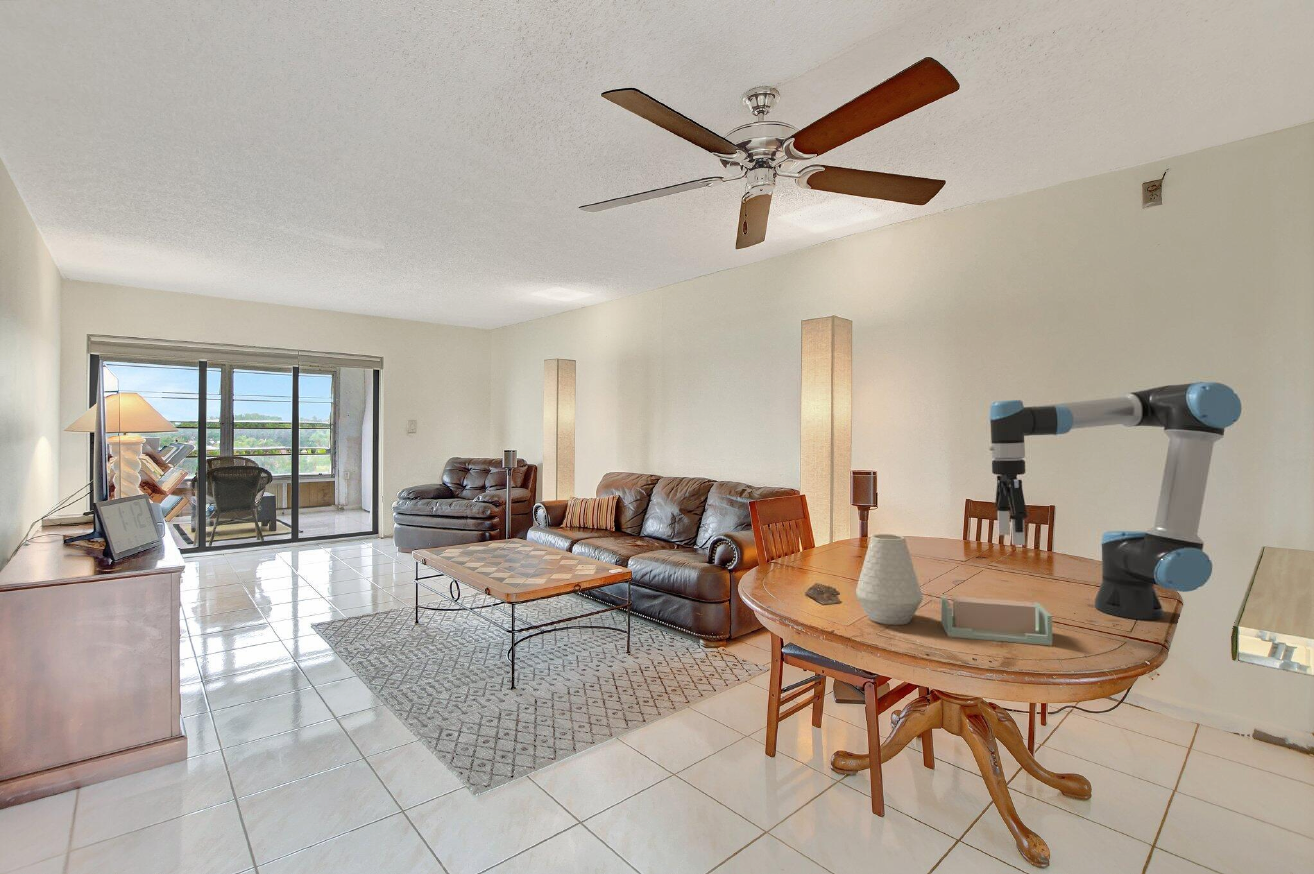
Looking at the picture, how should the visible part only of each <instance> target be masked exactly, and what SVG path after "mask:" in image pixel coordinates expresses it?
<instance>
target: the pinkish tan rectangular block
mask: <svg viewBox="0 0 1314 874" xmlns="http://www.w3.org/2000/svg"><path fill="white" fill-rule="evenodd" d="M952 615H953V624H954V626H955V627H958V628H970V629H972V630H984V631H996V632H1007V633H1019V634H1025V633H1030V634H1036V616H1035V606H1034V603H1032V602H1031V601H1020V600H1019V601H1018V600H1006V599H995V598H978V597H964V596H952Z"/></svg>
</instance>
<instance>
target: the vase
mask: <svg viewBox="0 0 1314 874" xmlns="http://www.w3.org/2000/svg"><path fill="white" fill-rule="evenodd" d="M916 574H917V573H916V570H915V567H914V563H913V560H912V557H911V555H910V550H909V547H908V544H907V541H906V537H905V536H902V535H899V534H891V533H878V534H877V533H876V534H872V535H871V536H870V540H869V544H868V546H867V550H866V553H865V557H864V560H863V565H862V567H861V571H860V574H859V579H858V582H857V586H856V588H855V596H856V598H857V600H858V601H859V603H860V605H861V607H862V609H863V611H864V612H865V614H866V617H867V618H868V620H870V621H872V622H873V623H874V622H875V623H877V624H881V625H886V626H887V625H889V626H903V625H907V624H908V623H910V622H911V621H912V619H913V618H914V615H915V614H916V612H917V611H918V608H919V607H920V606H921V603H922V602H923V599H924V598H923V593H922V590H921V587H920V584H919V580H918V578H917V577H918V576H917V575H916Z"/></svg>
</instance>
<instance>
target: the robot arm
mask: <svg viewBox="0 0 1314 874" xmlns="http://www.w3.org/2000/svg"><path fill="white" fill-rule="evenodd" d="M989 408H990V410H989V422H990V440H991V441H990V442H991V446H989V448H988V449H989V451H990V452H991V458H993V459H992V461H991V472H992V473H991V474H994V475H996V491H995V502H994V506H995V508H996V510H997V535H998V536H1011V545H1012V546H1026V534H1025V532H1026V530H1025V520H1026V519H1027V518H1028V513H1027V508H1026V507H1027V506H1026V502H1025V497H1024V490H1023V481H1022V479H1018V477H1017V476H1018V475H1024V474H1026V461H1025V460H1024V458H1026V449H1025V445H1026V443H1025V437H1029V436H1051V435H1052V436H1057V435H1066V434H1068V433H1069V432H1070V431H1071V430H1074V429H1084V428H1094V427H1095V428H1096V427H1105V426H1116V425H1123V426H1125V427H1130V428H1131V427H1158V428H1163V433H1164V434H1165V435H1166V436H1167V437H1168V438H1169V442H1168V447H1167V452H1166V453H1167V454H1166V459H1165V462H1164V463H1165V464H1164V470H1163V475H1162V476H1163V477H1162V480H1161V481H1162V482H1161V486H1160V491H1159V497H1158V502H1157V503H1158V504H1157V509H1156V515H1155V519H1154V525H1153V527H1152V528H1150V529H1148V530H1146V531H1143V530H1142V531H1141V530H1139V531H1138V530H1135V531H1134V530H1111V531H1109V530H1108V531H1105V532H1103V534H1102V536H1101V537H1102V539H1101V544H1100V545H1101V571H1102V572H1101V573H1102V574H1101V578H1102V579H1101V580H1102V581H1101V584H1100V586H1099V589H1098V592H1097V593H1096V597H1095V598H1094V608H1095V609H1096V610H1098V611H1100V612H1102V613H1105V614H1108V615H1113V616H1116V617H1121V618H1127V619H1132V620H1135V619H1136V620H1150V621H1151V620H1159V619H1162V618H1163V616H1164V615H1163V614H1164V610H1163V606H1162V603H1161V601H1160V598H1159V596H1158V593H1157V590H1156V589H1155V585H1156V586H1159V587H1161V588H1163V589H1166V590H1171V591H1172V590H1173V591H1176V592H1182V593H1188V592H1192V591H1196V590H1197V589H1198V588H1202V587H1203V586H1204V585H1206V583H1207V582H1208V581H1209V580H1210V577H1211V575H1212V574H1213V562H1212V560H1211V559H1210V557H1209V555H1208V554H1207V553H1206V552H1204V542H1205V541H1203V540H1202V539H1201V537H1200V536H1199V534H1198V533H1199V527H1200V520H1201V516H1202V511H1203V504H1204V499H1205V494H1206V488H1207V482H1208V477H1209V471H1210V466H1211V461H1212V457H1213V449H1214V444H1215V443H1216V442H1217V441H1219V440H1221V439H1222V438H1224V436H1225V435H1224V434H1225V429H1226V428H1228V427H1231V426H1232V425H1234V424H1235V422H1237V421H1238V420H1239V418H1240V417H1241V414H1242V409H1243V408H1242V402H1241V399H1240V397H1239V395H1238V394H1237V393H1235V390H1234V389H1232V387H1230V386H1228V385H1226V384H1224V383H1221V382H1215V381H1211V382H1210V381H1207V382H1205V381H1198V382H1193V383H1192V382H1191V383H1185V384H1184V383H1183V384H1172V385H1171V384H1170V385H1162V386H1158V387H1153V388H1149V389H1148V388H1147V389H1144V390H1143V389H1142V390H1138V391H1134V392H1126V393H1122V394H1120V395H1119V396H1117V397H1113V398H1112V397H1111V398H1100V399H1099V398H1098V399H1091V400H1082V401H1081V400H1079V401H1073V402H1063V403H1062V402H1061V403H1054V404H1053V403H1052V404H1043V405H1035V406H1034V405H1032V406H1024V402H1023V401H1022V400H1021V399H1019V400H1018V399H1016V400H1015V399H1013V400H999V401H996V400H995V401H993V402H992V403H991V404H990V407H989ZM1010 513H1011V515H1010ZM1010 524H1011V525H1010Z"/></svg>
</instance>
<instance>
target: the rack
mask: <svg viewBox="0 0 1314 874" xmlns="http://www.w3.org/2000/svg"><path fill="white" fill-rule="evenodd" d="M940 601H941V602H940V604H941V607H940V609H941V611H940V614H941V616H940V617H941V619H940V620H941V621H940V623H941V625H942V627H943V629H944V631H945V633H946V635H947V637H951V638H962V639H972V640H973V639H974V640H982V641H995V642H1006V643H1008V642H1009V643H1016V644H1018V643H1019V644H1027V645H1028V644H1029V645H1030V644H1031V645H1039V646H1040V645H1042V646H1053V615H1052V614H1051V613H1049V612H1048V611H1047V610H1046V609H1045V608H1044V607H1043V606H1042V605H1041V604H1040V603H1039V602H1035V601H1034V602H1033V605H1034V606H1035V616H1036V634H1030V633H1025V634H1019V633H1007V632H996V631H984V630H972V629H970V628H958V627H955V626H954V624H953V607H952V606H951V604H950V603H949V600H948V599H947V597H946V596H945V595H944V596H943V595H941V596H940Z"/></svg>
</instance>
